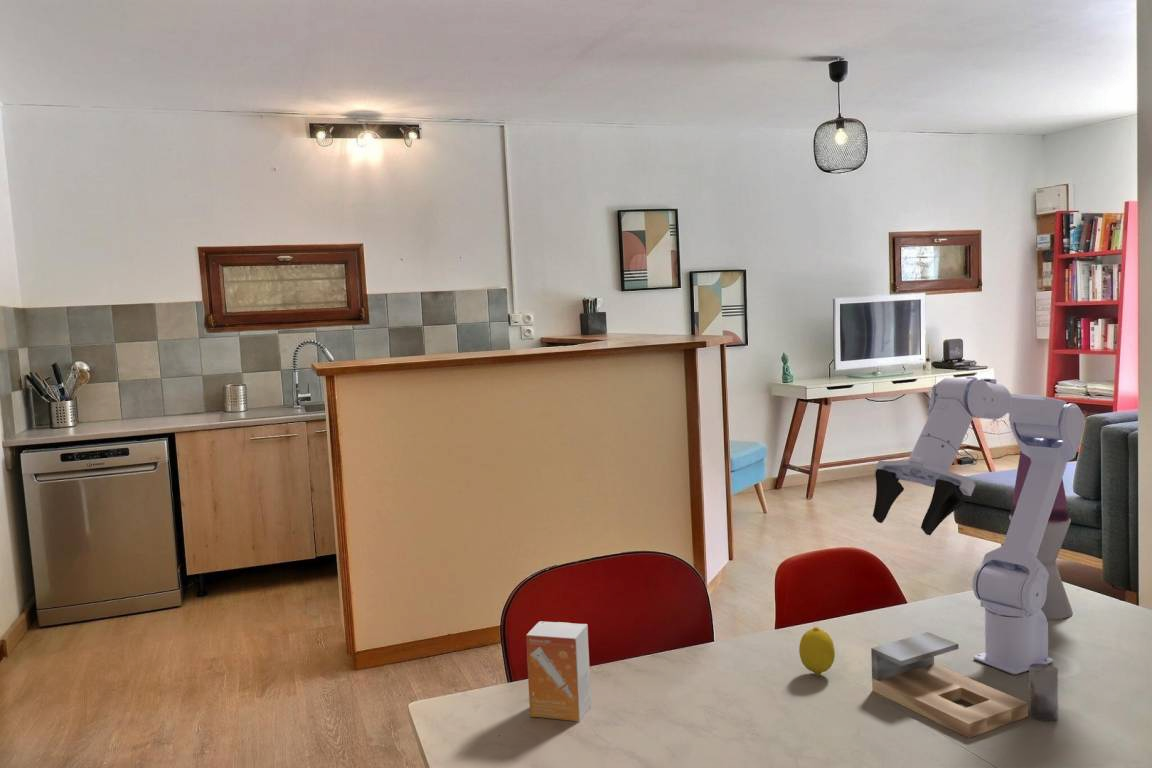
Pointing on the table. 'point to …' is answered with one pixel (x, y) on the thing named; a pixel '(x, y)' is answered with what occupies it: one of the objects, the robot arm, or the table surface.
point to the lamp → (1049, 545)
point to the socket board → (940, 687)
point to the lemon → (816, 650)
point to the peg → (1043, 692)
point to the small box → (558, 670)
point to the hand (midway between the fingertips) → (900, 525)
